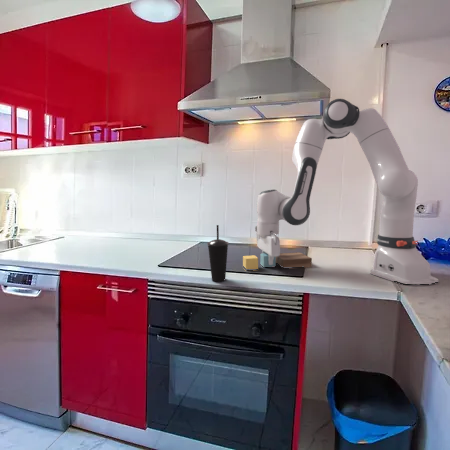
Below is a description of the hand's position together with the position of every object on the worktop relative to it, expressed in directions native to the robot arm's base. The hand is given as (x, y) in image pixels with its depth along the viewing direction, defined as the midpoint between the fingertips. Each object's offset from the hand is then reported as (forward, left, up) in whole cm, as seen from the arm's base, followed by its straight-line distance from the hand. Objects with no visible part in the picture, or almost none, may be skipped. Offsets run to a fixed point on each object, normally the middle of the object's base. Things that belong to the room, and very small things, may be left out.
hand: (267, 262), depth 132 cm
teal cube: (0, 0, -2) cm, 2 cm away
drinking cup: (-14, +23, -2) cm, 27 cm away
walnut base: (+1, -11, -2) cm, 11 cm away
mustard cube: (-2, +8, -2) cm, 8 cm away
